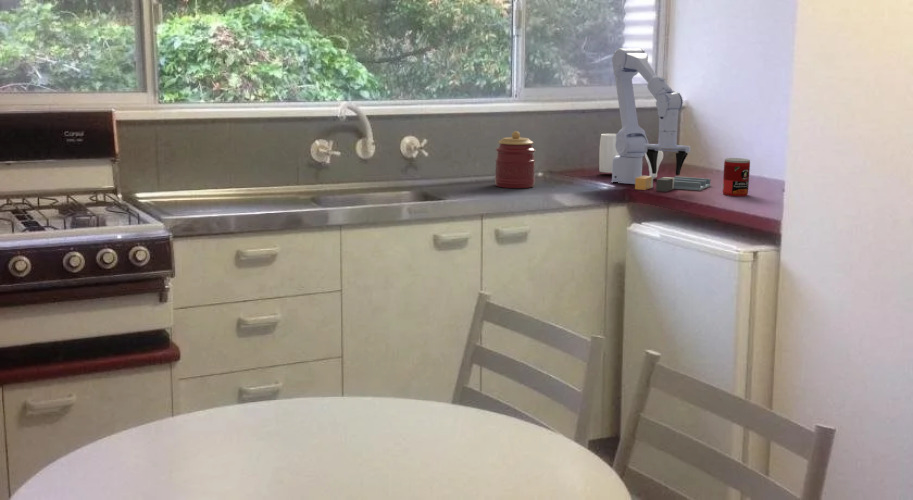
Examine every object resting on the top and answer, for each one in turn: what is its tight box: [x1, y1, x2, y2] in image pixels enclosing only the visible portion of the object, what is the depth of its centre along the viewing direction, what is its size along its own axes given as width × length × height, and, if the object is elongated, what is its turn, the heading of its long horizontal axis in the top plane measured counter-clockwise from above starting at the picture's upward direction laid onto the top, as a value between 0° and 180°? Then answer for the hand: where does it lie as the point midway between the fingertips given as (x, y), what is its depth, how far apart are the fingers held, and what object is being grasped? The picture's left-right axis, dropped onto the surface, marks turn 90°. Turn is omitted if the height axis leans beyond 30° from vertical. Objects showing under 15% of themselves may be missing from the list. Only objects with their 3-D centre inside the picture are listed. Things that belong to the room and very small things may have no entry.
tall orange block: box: [634, 175, 654, 191], centre depth 348 cm, size 8×3×4 cm, turn 152°
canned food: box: [722, 157, 751, 197], centre depth 336 cm, size 8×8×11 cm
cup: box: [598, 133, 619, 174], centre depth 381 cm, size 8×8×14 cm
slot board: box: [673, 175, 712, 191], centre depth 353 cm, size 12×12×2 cm
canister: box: [494, 130, 537, 189], centre depth 348 cm, size 13×13×18 cm
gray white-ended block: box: [655, 176, 674, 193], centre depth 345 cm, size 8×3×4 cm, turn 152°
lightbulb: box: [644, 151, 664, 180], centre depth 372 cm, size 6×6×11 cm
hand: (665, 174), depth 344 cm, fingers open, 7 cm apart
